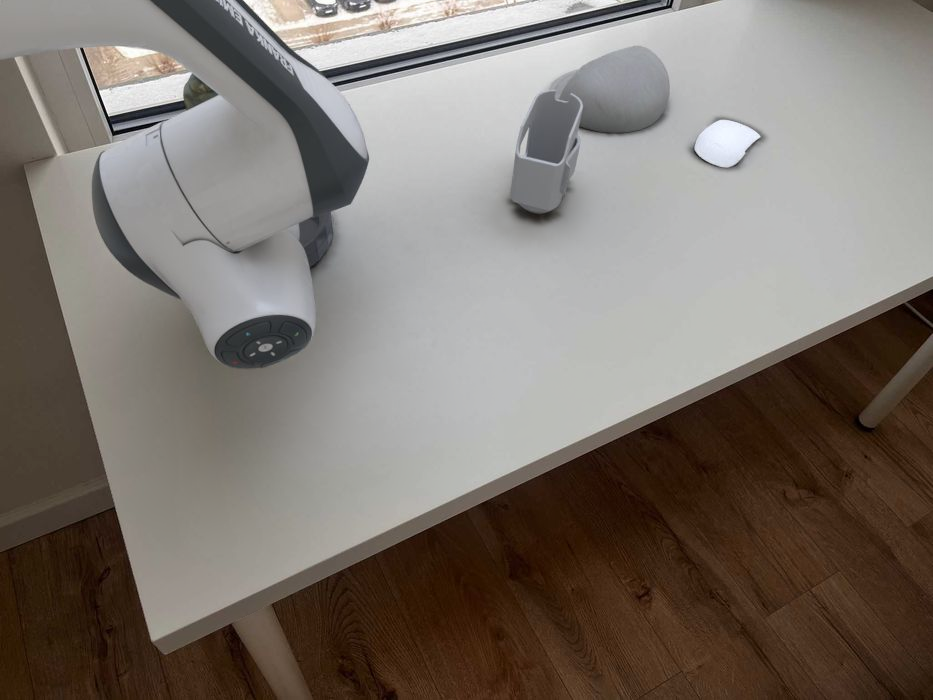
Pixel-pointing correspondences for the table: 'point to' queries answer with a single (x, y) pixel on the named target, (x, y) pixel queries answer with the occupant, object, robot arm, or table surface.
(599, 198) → the table surface
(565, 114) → the cable organizer
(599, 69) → the gray cap
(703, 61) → the table surface
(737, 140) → the white curved shell
